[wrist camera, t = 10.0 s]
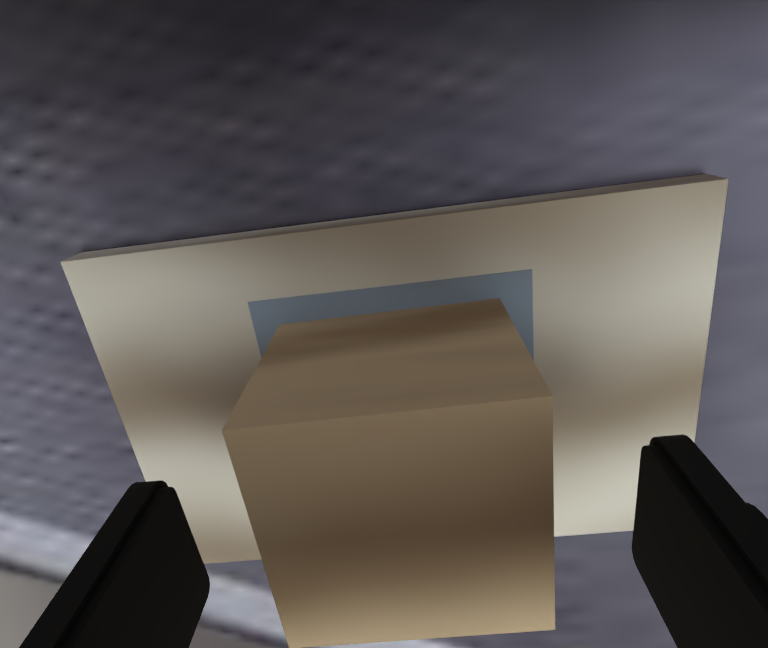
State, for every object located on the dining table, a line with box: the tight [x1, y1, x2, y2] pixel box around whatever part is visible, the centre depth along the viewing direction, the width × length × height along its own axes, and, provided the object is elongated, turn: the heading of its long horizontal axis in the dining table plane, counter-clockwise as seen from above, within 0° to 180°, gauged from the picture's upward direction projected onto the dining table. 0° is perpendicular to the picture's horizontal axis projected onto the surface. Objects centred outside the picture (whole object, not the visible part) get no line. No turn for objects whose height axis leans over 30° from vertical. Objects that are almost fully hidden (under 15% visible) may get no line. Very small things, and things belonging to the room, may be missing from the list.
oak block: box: [222, 298, 555, 648], centre depth 13 cm, size 6×6×5 cm
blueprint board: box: [61, 174, 728, 564], centre depth 15 cm, size 11×17×1 cm, turn 97°
